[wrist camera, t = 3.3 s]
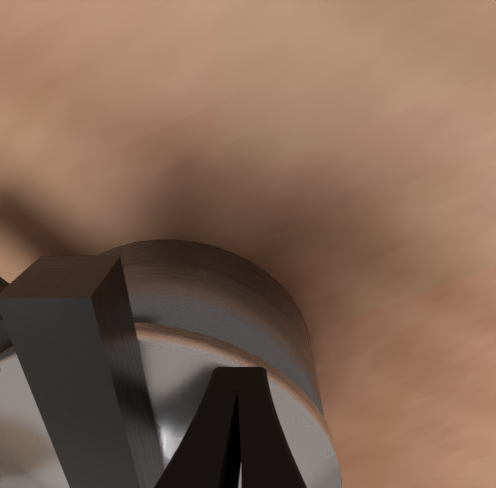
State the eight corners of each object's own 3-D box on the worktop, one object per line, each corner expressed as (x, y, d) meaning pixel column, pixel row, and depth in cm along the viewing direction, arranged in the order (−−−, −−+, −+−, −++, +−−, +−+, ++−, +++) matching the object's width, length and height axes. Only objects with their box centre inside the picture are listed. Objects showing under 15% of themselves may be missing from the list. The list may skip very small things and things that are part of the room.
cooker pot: (362, 367, 20) (401, 479, 15) (183, 470, 24) (162, 586, 19) (78, 81, 14) (-34, 93, 9) (-92, 286, 18) (-237, 378, 13)
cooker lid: (324, 567, 17) (335, 652, 15) (24, 563, 18) (-14, 645, 15) (364, 233, 10) (401, 293, 7) (-160, 243, 10) (-295, 301, 8)
